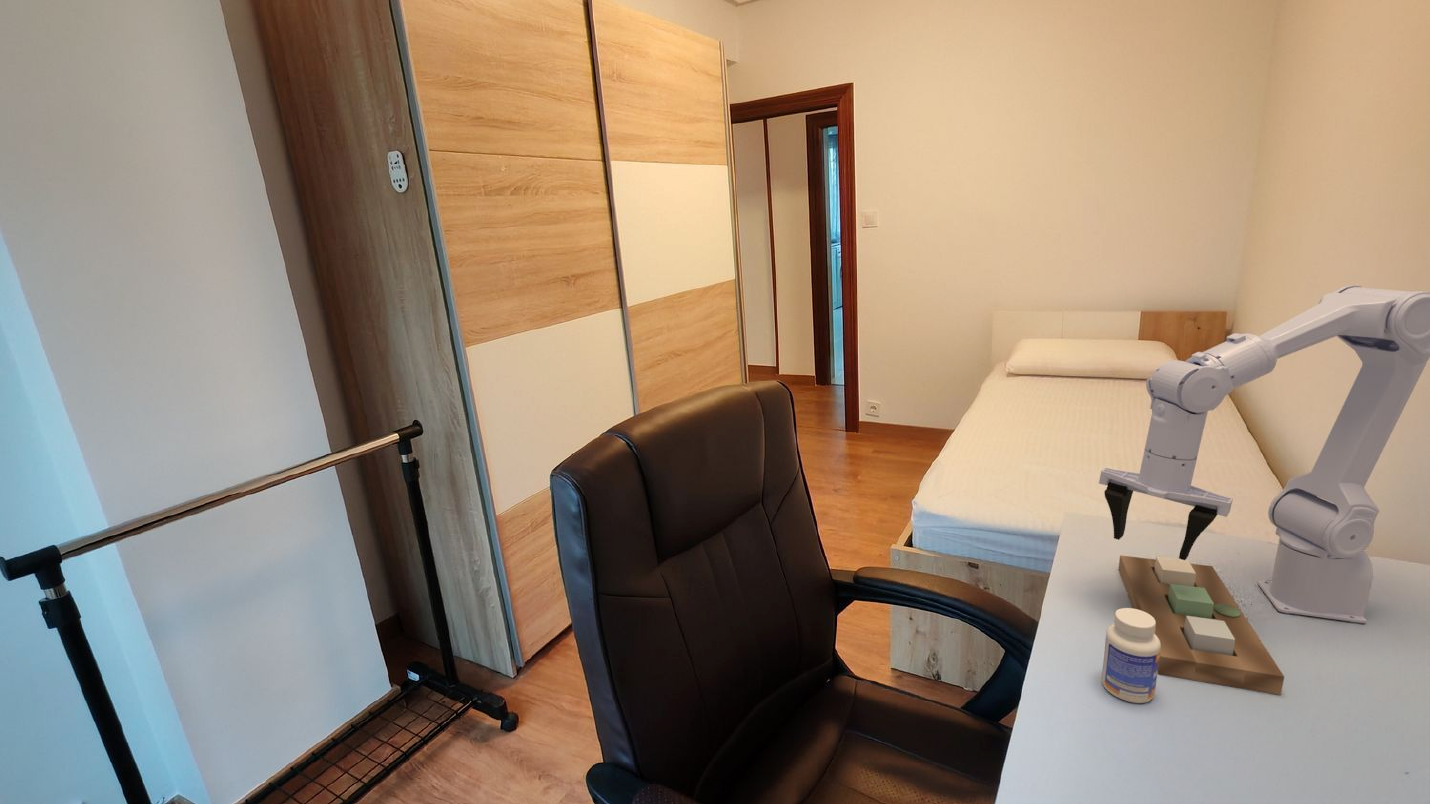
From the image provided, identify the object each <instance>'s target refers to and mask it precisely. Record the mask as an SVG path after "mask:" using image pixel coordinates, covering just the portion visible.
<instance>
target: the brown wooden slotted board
mask: <svg viewBox="0 0 1430 804" xmlns="http://www.w3.org/2000/svg"><path fill="white" fill-rule="evenodd" d="M1155 561H1156V558H1155V559H1154V558H1145V557H1139V556H1137V557H1136V556H1130V555H1119V563H1118V572H1119V575H1120V578H1121V581H1122V583H1123V585H1124V588H1125V591H1126V593H1127V596H1128V599H1129V601H1130V603H1131V607H1132V608H1133V609H1138V610H1141V611H1144V612H1146V613H1148V614H1149V615H1151V616H1152V617H1153V618H1154V619H1155V621H1156V627H1155V635H1156V636H1157V637H1158V638H1159V640H1160V643H1161V648H1160V657H1159V665H1158V672H1157V675H1162V676H1169V677H1173V678H1179V679H1185V680H1186V679H1187V680H1192V681H1196V682H1197V681H1198V682H1202V683H1210V684H1215V685H1219V686H1227V687H1233V688H1238V689H1244V690H1248V691H1249V690H1250V691H1256V692H1260V693H1261V692H1262V693H1267V694H1272V695H1278V696H1281V694H1282V692H1283V691H1282V689H1283V687H1284V686H1283V685H1284V680H1285V675H1284V673H1282V670H1281V669H1280V668H1279V666H1278V665H1277V663H1276V661H1275V659H1273V657H1272V656H1271V654H1270V652H1269V650H1267V648H1266V646H1265V644H1264V643H1263V641H1262V640H1261V639H1260V637H1259V635H1258V634H1257V631H1255V629H1254V628H1253V626H1252V625H1251V623H1250V622H1249V619H1248V618H1247V617H1246V616H1245V614H1244V613H1243V611H1242V609H1241V608H1240V606H1239V605H1238V603H1237V602H1236V600H1235V598H1234V597H1233V595H1232V594H1231V593H1230V591H1229V589H1228V588H1227V587H1226V585H1225V583H1224V582H1223V580H1222V578H1221V577H1220V575H1219V574H1218V573H1217V571H1216V570H1215V568H1214V566H1212V565H1205V564H1198V563H1190V564H1191V566H1192V568H1193V569H1194V571H1195V573H1196V577H1195V583H1194V587H1200V588H1205V590H1206V591H1207V593H1208V595H1209V596H1210V598H1211V600H1212V601H1213V603H1214V607H1213V613H1212V619H1213V620H1220V621H1224V622H1225V623H1226V625H1227V627H1228V628H1229V630H1230V632H1231V633H1232V635H1233V637H1234V638H1235V644H1234V650H1233V655H1232V656H1230V655H1224V654H1218V653H1211V652H1205V651H1199V650H1192V649H1190V648H1189V646H1188V644H1187V641H1186V639H1185V637H1184V635H1183V633H1184V626H1185V620H1186V616H1189V615H1182V614H1175V613H1173V612H1172V610H1171V608H1170V606H1169V604H1168V602H1167V601H1168V594H1169V587H1170V584H1164V583H1158V581H1157V579H1156V576H1155V574H1154V569H1155ZM1192 617H1196V616H1192ZM1199 618H1203V617H1199ZM1206 619H1210V618H1206Z"/></svg>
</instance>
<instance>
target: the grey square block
mask: <svg viewBox="0 0 1430 804" xmlns="http://www.w3.org/2000/svg"><path fill="white" fill-rule="evenodd" d="M1183 635H1184V637H1185V639H1186V641H1187V644H1188V646H1189V648H1190V649H1192V650H1199V651H1205V652H1211V653H1218V654H1224V655H1230V656H1232V655H1233V650H1234V644H1235V638H1234V637H1233V635H1232V633H1231V632H1230V630H1229V628H1228V627H1227V625H1226V623H1225V622H1224V621H1220V620H1213V619H1206V618H1199V617H1192V616H1186V620H1185V626H1184V633H1183Z"/></svg>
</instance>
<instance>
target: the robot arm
mask: <svg viewBox="0 0 1430 804" xmlns="http://www.w3.org/2000/svg"><path fill="white" fill-rule="evenodd" d="M1335 337H1337V338H1338V339H1339V340H1341V341H1342V342H1343V343H1345V345H1347V346H1348V347H1350V348H1351V349H1352V350H1353V351H1355V354H1356V355H1357V357H1359V359H1360V361H1361V367H1360V370H1359V372H1358V374H1357V376H1356V378H1355V380H1354V382H1353V384H1352V386H1351V388H1350V390H1349V392H1348V395H1347V397H1346V399H1345V401H1344V403H1343V405H1342V407H1341V409H1340V411H1339V413H1338V415H1337V417H1336V419H1335V421H1334V424H1333V425H1332V427H1331V429H1330V431H1329V434H1328V436H1327V438H1326V440H1325V443H1324V444H1323V446H1322V449H1321V450H1320V453H1319V455H1318V456H1317V459H1316V461H1315V463H1314V465H1313V467H1312V469H1311V471H1310V472H1308V473H1305V474H1301V475H1298V476H1294V477H1291V478H1289V479H1288V480H1287V483H1286V484H1285V486H1284V488H1283V490H1281V491H1280V492H1279V493H1278V494H1277V495H1276V496H1275V497H1274V498H1273V499H1272V501H1271V502H1270V505H1269V507H1268V512H1267V513H1268V519H1269V521H1270V523H1271V524H1272V525H1273V526H1274V527H1276V529H1275V535H1277V536H1278V537H1279V538H1278V539H1279V540H1278V544H1277V550H1276V554H1275V559H1274V560H1275V561H1274V564H1273V569H1272V576H1271V581H1269V580H1268V581H1266V580H1258V581H1257V584H1258V586H1259V587H1260V589H1261V590H1262V592H1263V593H1264V594H1265V595H1266V597H1267V598H1268V599H1269V601H1270V602H1271V604H1272V605H1273V606H1274V607H1275V609H1276V611H1278V612H1280V613H1286V614H1292V615H1299V616H1300V615H1302V616H1309V617H1315V618H1322V619H1329V620H1331V619H1332V620H1339V621H1345V622H1353V623H1359V624H1366V623H1367V620H1368V619H1366V617H1365V613H1366V609H1367V605H1368V601H1369V596H1370V592H1371V588H1372V583H1373V579H1374V572H1373V571H1374V570H1373V569H1374V568H1373V562H1371V559H1370V556H1369V555H1368V553H1366V552H1365V550H1366V549H1367V548H1368V547H1369V545H1371V543H1372V540H1373V537H1374V533H1375V522H1376V518H1377V516H1378V514H1379V512H1380V510H1379V507H1378V506H1377V504H1376V503H1375V502H1374V500H1373V499H1372V498H1371V497H1370V495H1369V494H1368V492H1367V491H1366V489H1365V486H1366V484H1367V483H1368V481H1369V478H1370V476H1371V474H1372V472H1373V470H1374V468H1375V466H1376V464H1377V462H1378V460H1379V458H1380V457H1381V454H1382V453H1383V451H1384V449H1385V447H1386V445H1387V443H1388V441H1389V439H1390V437H1391V434H1392V433H1393V430H1394V429H1395V427H1396V425H1397V423H1398V421H1399V419H1400V417H1401V415H1402V413H1403V411H1404V409H1405V407H1406V405H1407V403H1408V402H1409V399H1410V397H1411V396H1412V394H1413V392H1414V389H1415V387H1416V385H1417V384H1418V381H1419V379H1420V377H1421V375H1422V374H1423V371H1424V369H1425V367H1426V366H1427V363H1428V361H1429V359H1430V291H1421V290H1418V291H1411V290H1410V291H1409V290H1407V291H1406V290H1398V289H1397V290H1396V289H1388V288H1387V289H1386V288H1373V287H1363V286H1361V285H1353V284H1352V285H1345V286H1342V287H1340V288H1338V289H1336V290H1335V291H1334V292H1333V291H1332V292H1329V293H1326V294H1324V295H1322V296H1321V298H1320V300H1319V301H1318V304H1316V305H1314V306H1312V307H1310V308H1309V309H1307V310H1305V311H1304V312H1302V313H1299V314H1298V315H1295V316H1294V317H1292V318H1290V319H1288V320H1287V321H1285V322H1283V323H1281V324H1279V325H1277V326H1275V327H1273V328H1272V329H1270V330H1268V331H1267V332H1264V333H1263V334H1261V335H1256V334H1254V333H1246V332H1245V333H1237V332H1235V333H1232V334H1230V335H1227V336H1226V341H1224V342H1222V343H1220V344H1217V345H1215V346H1213V347H1211V348H1208V349H1206V350H1204V351H1197V352H1195V353H1193V354H1191V357H1189V358H1188V359H1186V360H1185V361H1183V360H1180V359H1179V360H1178V359H1173V360H1169V361H1167V362H1165V363H1163V364H1162V365H1159V366H1158V367H1157V368H1156V369H1155V370H1154V371H1153V373H1152V374H1151V377H1150V378H1148V379H1146V384H1145V385H1146V391H1147V393H1148V395H1149V396H1150V399H1151V403H1150V406H1149V407H1150V408H1149V409H1151V416H1150V421H1149V426H1148V431H1147V435H1146V441H1145V446H1144V451H1143V456H1142V461H1141V464H1140V469H1139V473H1137V472H1131V471H1124V470H1119V469H1114V468H1109V467H1108V468H1107V467H1104V468H1103V469H1102V470H1100V476H1099V481H1098V484H1100V485H1104V486H1107V487H1106V489H1105V490H1104V498H1105V500H1106V502H1107V505H1108V508H1109V512H1110V515H1111V519H1112V527H1113V539H1115V540H1118V541H1119V540H1121V539H1122V537H1123V536H1124V534H1125V531H1126V530H1125V529H1126V526H1127V525H1126V524H1127V516H1128V511H1129V507H1130V503H1131V500H1132V496H1133V493H1134V492H1136V493H1141V494H1143V495H1148V496H1152V497H1156V498H1161V499H1163V500H1167V501H1171V502H1175V503H1178V504H1179V503H1180V504H1183V505H1186V506H1190V507H1193V508H1192V509H1191V510H1190V511H1189V513H1188V517H1187V524H1186V530H1185V536H1184V539H1183V543H1182V545H1181V548H1180V551H1179V555H1178V559H1182V560H1188V557H1189V555H1190V552H1191V551H1192V550H1191V549H1192V548H1193V546H1194V544H1195V542H1196V540H1198V538H1199V536H1200V535H1201V534H1202V533H1203V532H1204V531H1205V530H1206V529H1207V528H1208V526H1210V524H1212V522H1214V521H1215V519H1216V517H1217V516H1221V517H1225V518H1227V517H1228V516H1229V514H1230V512H1231V508H1232V505H1233V500H1234V498H1232V497H1227V496H1223V495H1220V494H1217V493H1213V492H1211V491H1208V490H1205V489H1201V488H1198V487H1196V486H1193V485H1192V482H1193V478H1194V473H1195V468H1196V464H1197V460H1198V456H1199V450H1200V446H1201V442H1202V438H1203V433H1204V429H1205V425H1206V422H1207V417H1208V412H1209V411H1214V410H1215V409H1217V408H1218V407H1219V406H1220V405H1221V403H1222V402H1223V400H1224V399H1225V398H1226V396H1227V395H1229V394H1231V393H1232V391H1233V390H1235V389H1237V388H1239V387H1242V386H1243V385H1245V384H1248V383H1250V382H1253V381H1254V380H1256V379H1259V378H1262V377H1264V376H1266V375H1268V374H1271V373H1272V372H1273V371H1274V369H1275V367H1276V365H1277V361H1278V359H1281V358H1283V357H1286V356H1289V355H1291V354H1293V353H1296V352H1299V351H1302V350H1304V349H1306V348H1309V347H1312V346H1314V345H1316V344H1319V343H1322V342H1324V341H1328V340H1330V339H1332V338H1335Z"/></svg>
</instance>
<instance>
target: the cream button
mask: <svg viewBox="0 0 1430 804" xmlns="http://www.w3.org/2000/svg"><path fill="white" fill-rule="evenodd" d="M1155 559H1156V561H1155V569H1154V574H1155V576H1156V579H1157V581H1158V583H1164V584H1176V585H1184V586H1192V587H1194V583H1195V577H1196V573H1195V571H1194V569H1193V568H1192V566H1191V564H1192V563H1191V562H1190V561H1189V559H1186V560H1182V559H1179V558H1173V557H1164V556H1155Z"/></svg>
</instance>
